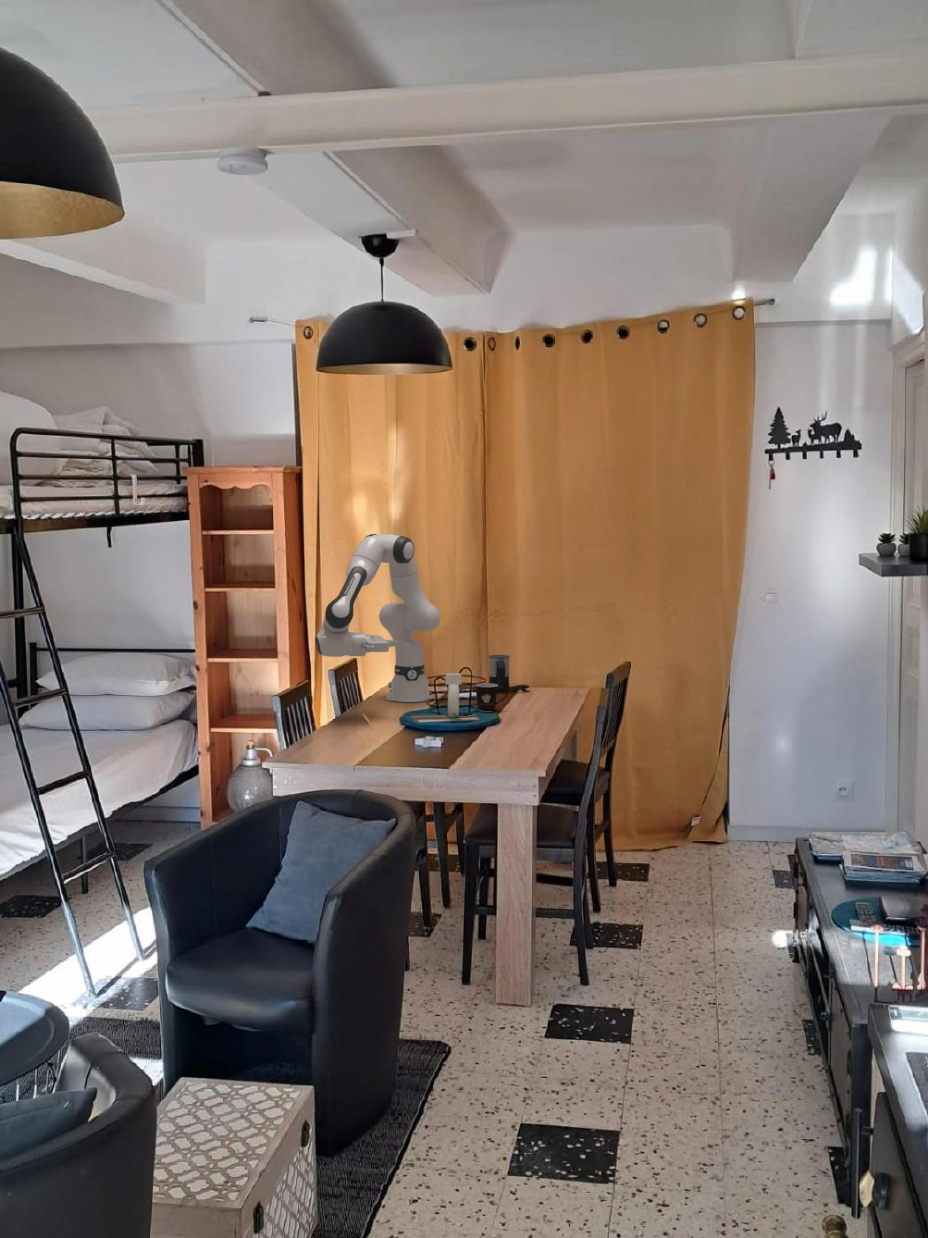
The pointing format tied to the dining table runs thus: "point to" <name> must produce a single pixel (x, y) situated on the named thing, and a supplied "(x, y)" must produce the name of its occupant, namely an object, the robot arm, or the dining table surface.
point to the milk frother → (501, 673)
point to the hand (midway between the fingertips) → (397, 643)
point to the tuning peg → (453, 693)
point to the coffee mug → (487, 696)
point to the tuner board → (443, 718)
